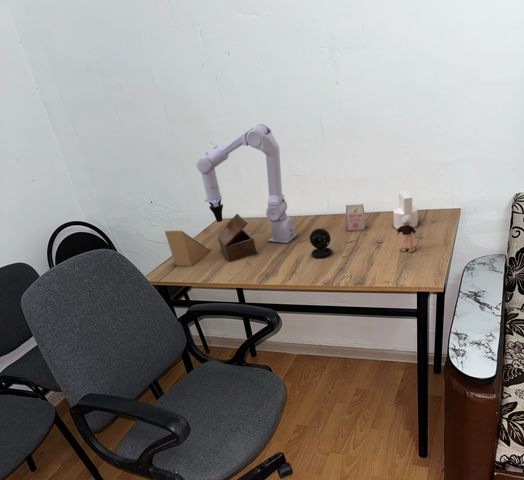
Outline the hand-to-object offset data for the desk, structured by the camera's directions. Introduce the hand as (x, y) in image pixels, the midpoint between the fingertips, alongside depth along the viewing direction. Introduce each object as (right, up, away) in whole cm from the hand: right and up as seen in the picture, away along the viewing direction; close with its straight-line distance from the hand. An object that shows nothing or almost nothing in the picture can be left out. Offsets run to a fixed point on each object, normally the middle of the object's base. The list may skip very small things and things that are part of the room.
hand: (219, 218), depth 201 cm
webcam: (+41, -20, -24) cm, 51 cm away
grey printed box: (+57, -7, -9) cm, 58 cm away
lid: (+6, -8, -13) cm, 16 cm away
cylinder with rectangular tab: (+75, -7, -15) cm, 77 cm away
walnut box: (+9, -16, -7) cm, 19 cm away
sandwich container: (-10, -17, -3) cm, 21 cm away
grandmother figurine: (+70, -21, -34) cm, 80 cm away
